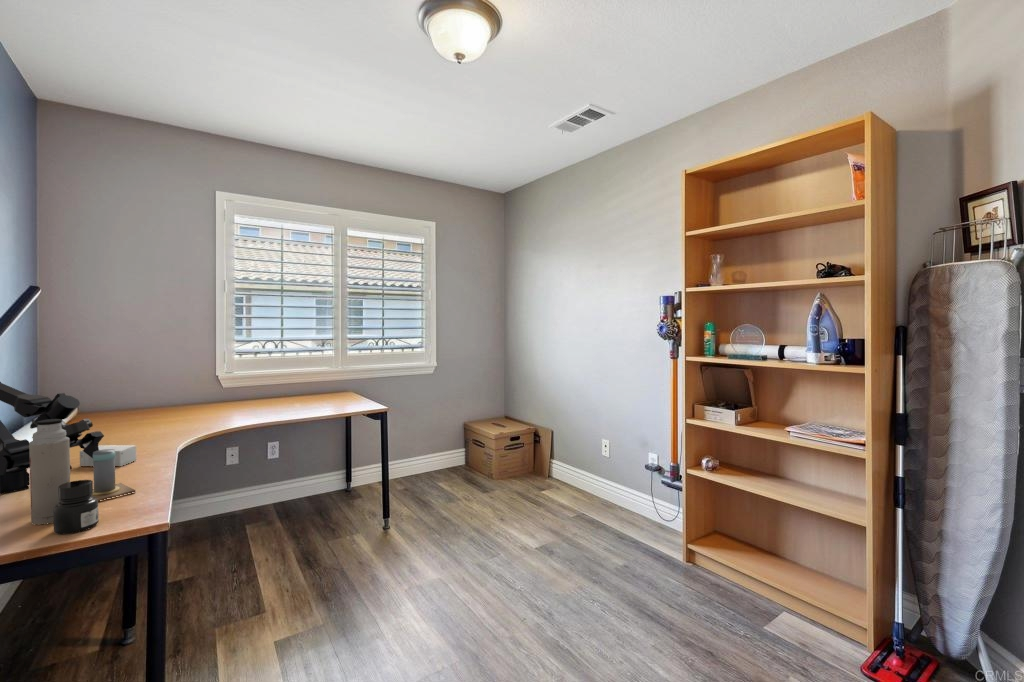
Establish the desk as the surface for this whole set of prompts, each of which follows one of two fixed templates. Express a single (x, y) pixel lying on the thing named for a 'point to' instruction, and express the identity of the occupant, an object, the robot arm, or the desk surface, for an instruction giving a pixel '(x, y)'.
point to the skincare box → (122, 455)
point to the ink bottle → (75, 507)
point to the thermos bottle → (48, 468)
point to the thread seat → (113, 492)
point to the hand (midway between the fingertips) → (85, 464)
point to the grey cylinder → (104, 470)
